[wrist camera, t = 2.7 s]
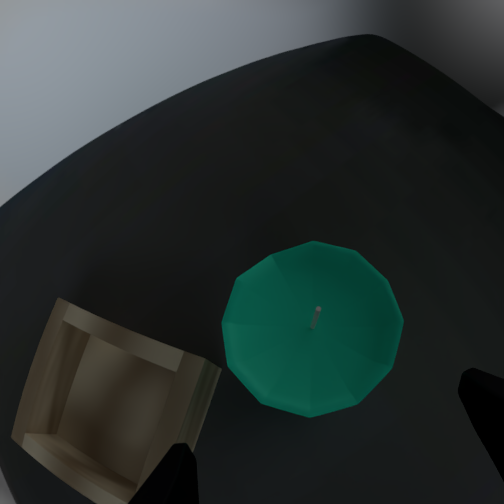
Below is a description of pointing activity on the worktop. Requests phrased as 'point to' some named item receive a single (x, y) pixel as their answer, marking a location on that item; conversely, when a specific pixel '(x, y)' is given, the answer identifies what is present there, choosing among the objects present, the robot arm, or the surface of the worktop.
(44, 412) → the candle holder
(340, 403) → the candle
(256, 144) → the worktop surface
